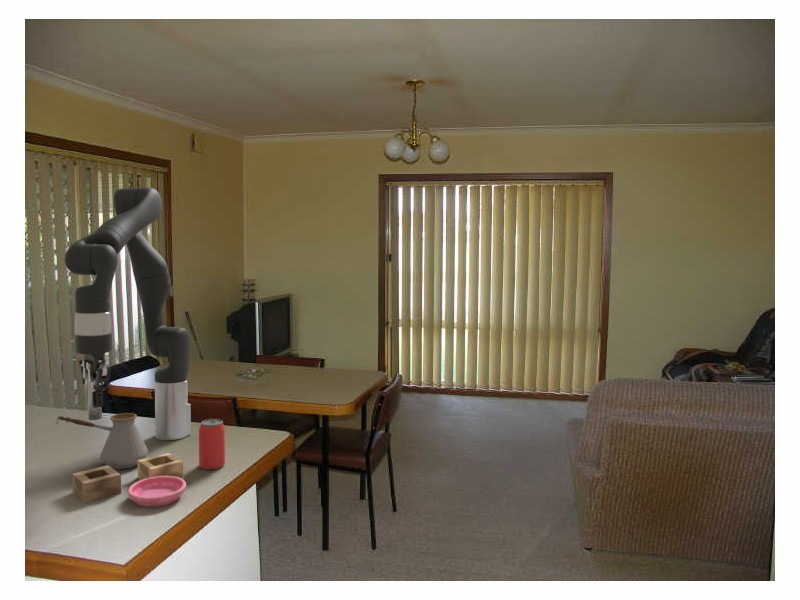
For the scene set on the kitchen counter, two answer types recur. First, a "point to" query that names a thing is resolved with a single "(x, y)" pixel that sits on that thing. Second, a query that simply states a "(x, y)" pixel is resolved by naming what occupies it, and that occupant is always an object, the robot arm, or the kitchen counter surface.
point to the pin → (92, 412)
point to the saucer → (157, 491)
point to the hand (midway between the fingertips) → (95, 405)
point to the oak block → (160, 466)
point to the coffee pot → (119, 441)
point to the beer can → (211, 444)
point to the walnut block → (96, 483)
